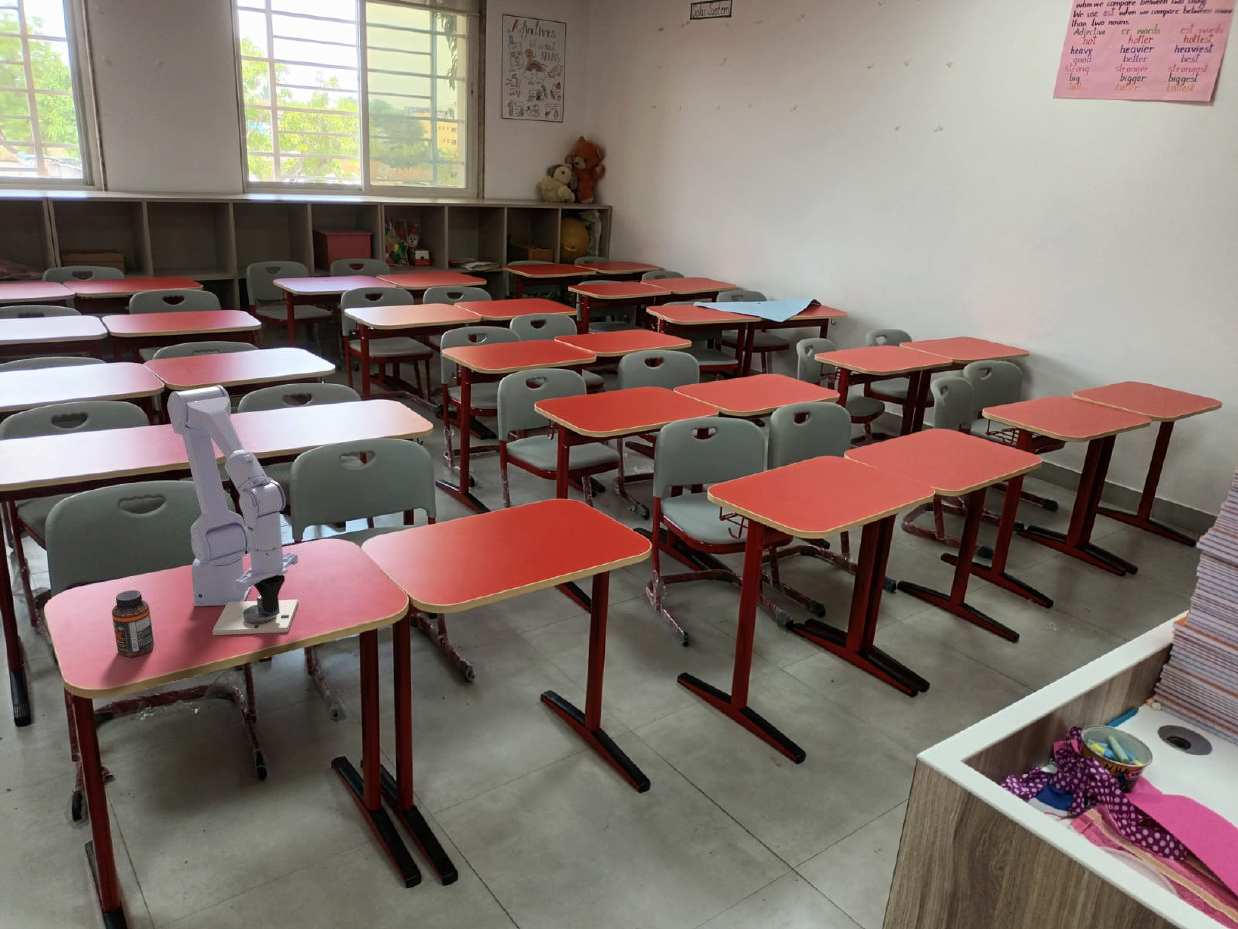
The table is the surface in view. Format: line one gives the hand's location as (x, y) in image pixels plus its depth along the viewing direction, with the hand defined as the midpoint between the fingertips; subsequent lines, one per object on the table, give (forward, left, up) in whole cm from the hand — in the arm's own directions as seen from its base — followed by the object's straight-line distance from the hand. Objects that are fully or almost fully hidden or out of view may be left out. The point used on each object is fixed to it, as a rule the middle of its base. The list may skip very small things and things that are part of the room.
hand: (271, 610), depth 168 cm
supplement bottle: (-23, -6, -4) cm, 24 cm away
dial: (-2, +2, -2) cm, 4 cm away
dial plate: (-4, +4, -4) cm, 7 cm away
